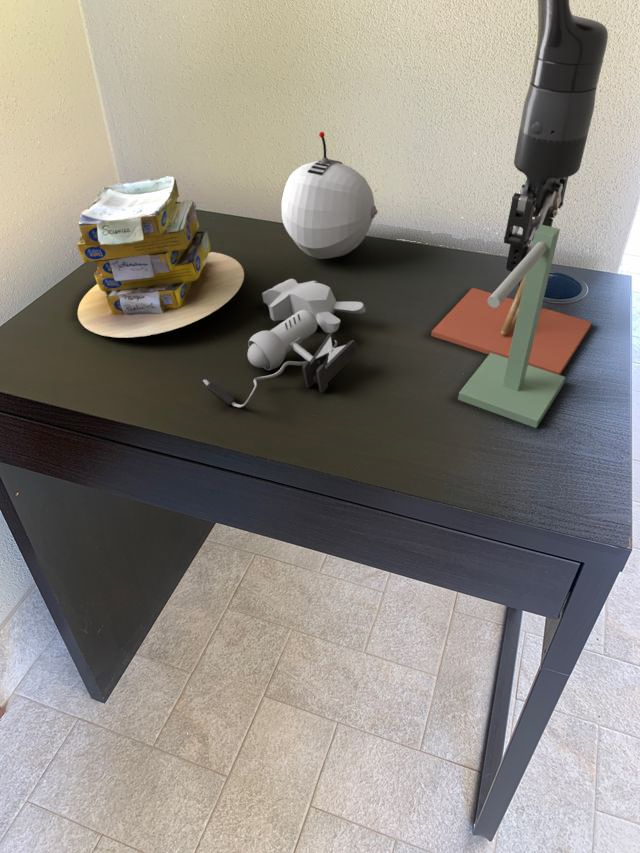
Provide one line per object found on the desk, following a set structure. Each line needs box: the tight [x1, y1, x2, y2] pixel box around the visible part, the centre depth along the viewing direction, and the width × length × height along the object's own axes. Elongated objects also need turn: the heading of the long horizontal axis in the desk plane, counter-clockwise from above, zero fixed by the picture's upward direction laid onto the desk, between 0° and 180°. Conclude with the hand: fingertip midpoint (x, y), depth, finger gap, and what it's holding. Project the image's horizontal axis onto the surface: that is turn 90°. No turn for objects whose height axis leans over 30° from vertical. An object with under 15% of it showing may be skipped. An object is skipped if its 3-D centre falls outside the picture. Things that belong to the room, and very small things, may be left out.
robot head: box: [280, 131, 379, 260], centre depth 107 cm, size 16×14×20 cm
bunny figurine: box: [261, 278, 366, 334], centre depth 97 cm, size 10×5×15 cm
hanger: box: [501, 241, 533, 336], centre depth 92 cm, size 14×1×11 cm, turn 146°
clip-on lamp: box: [202, 310, 357, 408], centre depth 86 cm, size 12×6×18 cm
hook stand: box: [457, 225, 566, 429], centre depth 75 cm, size 10×19×22 cm, turn 147°
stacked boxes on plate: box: [76, 175, 245, 339], centre depth 97 cm, size 25×25×17 cm
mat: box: [431, 287, 593, 376], centre depth 95 cm, size 18×14×1 cm
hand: (527, 257), depth 88 cm, fingers open, 8 cm apart
